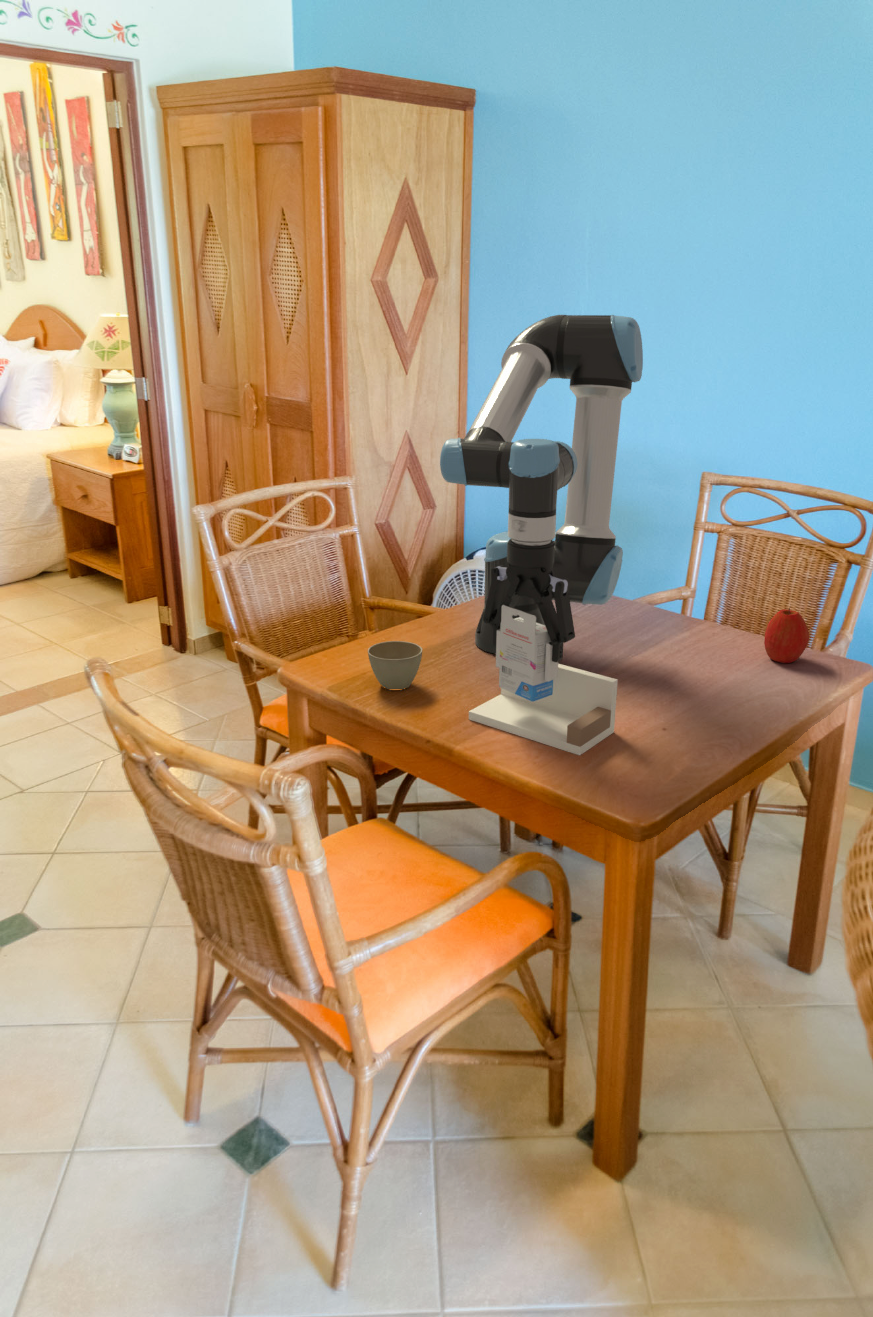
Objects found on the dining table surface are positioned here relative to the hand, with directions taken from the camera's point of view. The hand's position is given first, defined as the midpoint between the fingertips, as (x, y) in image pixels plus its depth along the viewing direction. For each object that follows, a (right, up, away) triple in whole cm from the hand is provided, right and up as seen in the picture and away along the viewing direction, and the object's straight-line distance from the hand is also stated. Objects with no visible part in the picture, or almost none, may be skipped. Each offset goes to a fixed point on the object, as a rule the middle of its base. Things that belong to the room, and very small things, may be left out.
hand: (526, 671), depth 169 cm
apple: (+54, +2, +32) cm, 62 cm away
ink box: (0, -3, +1) cm, 4 cm away
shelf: (+3, -9, +3) cm, 10 cm away
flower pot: (-22, -3, +19) cm, 30 cm away
